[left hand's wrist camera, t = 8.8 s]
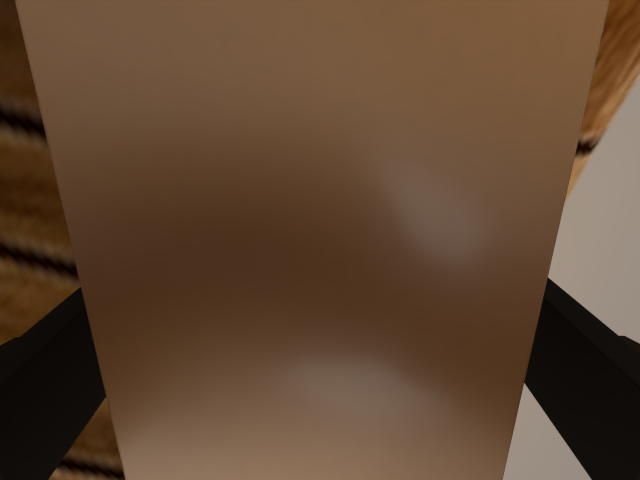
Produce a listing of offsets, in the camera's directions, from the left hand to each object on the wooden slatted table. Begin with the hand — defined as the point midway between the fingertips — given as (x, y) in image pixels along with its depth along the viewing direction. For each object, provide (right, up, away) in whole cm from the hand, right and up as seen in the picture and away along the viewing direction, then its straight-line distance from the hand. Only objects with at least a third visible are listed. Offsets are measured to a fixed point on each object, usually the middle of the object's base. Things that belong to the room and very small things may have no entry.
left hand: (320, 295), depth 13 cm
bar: (0, +9, -1) cm, 9 cm away
